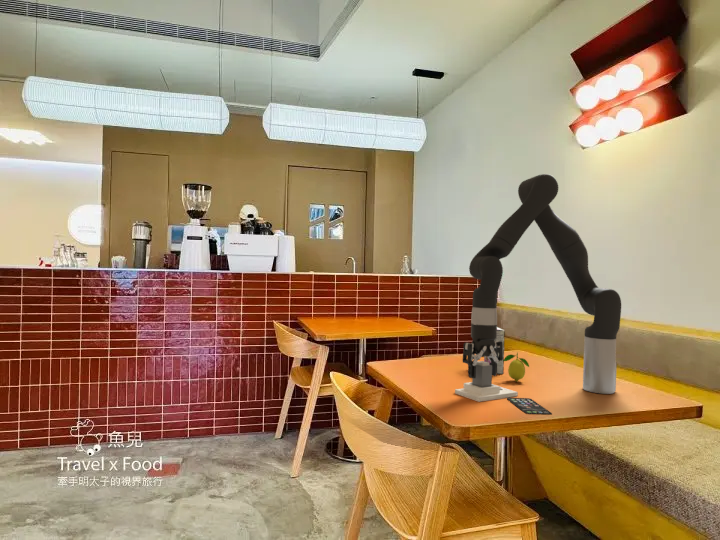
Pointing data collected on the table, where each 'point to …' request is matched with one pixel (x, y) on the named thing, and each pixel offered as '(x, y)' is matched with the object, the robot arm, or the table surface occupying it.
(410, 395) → the table surface
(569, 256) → the robot arm
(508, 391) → the outlet plate
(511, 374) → the lemon
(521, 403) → the smartphone
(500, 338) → the candy bar box
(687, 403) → the table surface
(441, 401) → the table surface
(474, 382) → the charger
